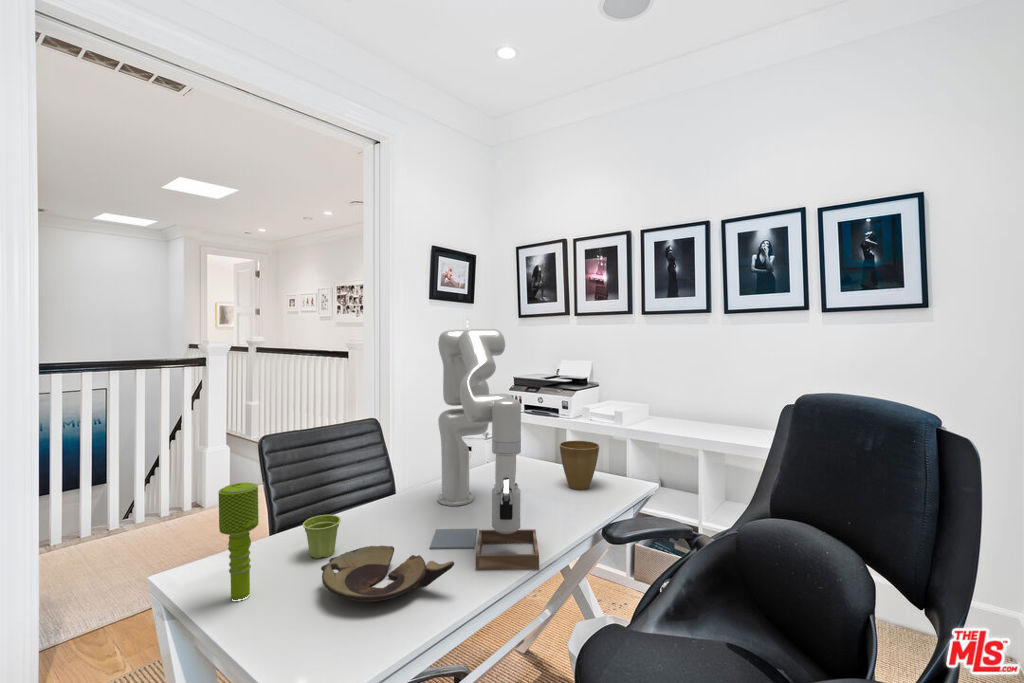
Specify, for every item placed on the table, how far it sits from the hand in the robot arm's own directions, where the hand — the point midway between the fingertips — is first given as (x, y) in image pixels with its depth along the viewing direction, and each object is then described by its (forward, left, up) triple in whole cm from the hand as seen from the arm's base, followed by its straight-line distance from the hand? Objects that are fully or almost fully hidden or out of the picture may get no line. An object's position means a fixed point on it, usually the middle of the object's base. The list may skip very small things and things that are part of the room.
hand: (506, 512), depth 128 cm
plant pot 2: (-54, +27, -11) cm, 62 cm away
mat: (-9, -15, -11) cm, 21 cm away
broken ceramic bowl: (+18, -28, -11) cm, 35 cm away
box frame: (+1, 0, -11) cm, 11 cm away
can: (0, 0, -5) cm, 5 cm away
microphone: (+20, -59, -11) cm, 63 cm away
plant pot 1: (-1, -49, -11) cm, 50 cm away
